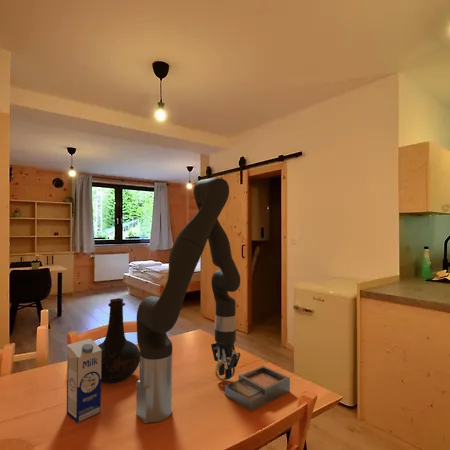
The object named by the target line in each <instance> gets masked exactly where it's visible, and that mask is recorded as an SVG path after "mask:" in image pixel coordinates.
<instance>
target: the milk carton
mask: <svg viewBox="0 0 450 450" xmlns="http://www.w3.org/2000/svg"><path fill="white" fill-rule="evenodd" d="M98 345H99V344H97V343H96V342H95V341H94V340H93V339H92V338H88V339H83V340H80V341H77V342H72V343H69V344H67V346H66V347H67V360H66V364H67V365H66V415H67V416H68V417H69V418H70V419H71V420H73V421H74V422H75V423H77V424H79V423H81V422H84V421H85V420H88V419H90V418H92V417H94V416H96V415H98V414H101V408H102V405H101V404H102V398H101V397H102V382H101V351H102V350H101V348H100V347H99V346H98Z"/></svg>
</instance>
